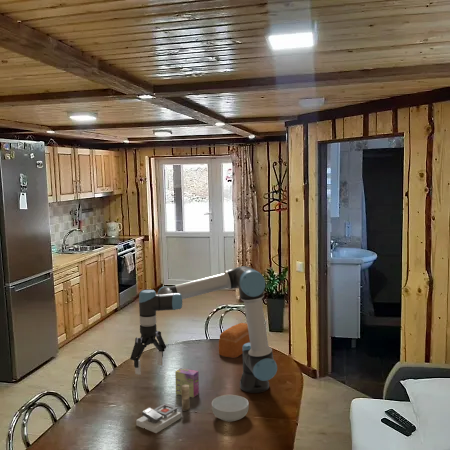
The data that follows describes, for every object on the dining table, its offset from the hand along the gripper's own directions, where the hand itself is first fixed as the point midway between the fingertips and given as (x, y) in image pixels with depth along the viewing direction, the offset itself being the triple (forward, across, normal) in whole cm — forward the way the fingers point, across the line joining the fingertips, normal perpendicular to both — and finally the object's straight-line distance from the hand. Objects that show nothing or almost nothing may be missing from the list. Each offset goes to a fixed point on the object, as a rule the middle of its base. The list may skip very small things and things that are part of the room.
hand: (149, 369), depth 222 cm
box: (+21, -25, 0) cm, 33 cm away
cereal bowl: (+21, -18, +33) cm, 43 cm away
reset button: (+19, -1, +9) cm, 21 cm away
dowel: (+21, -13, +11) cm, 27 cm away
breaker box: (+21, +3, +9) cm, 23 cm away
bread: (+20, -90, -16) cm, 93 cm away
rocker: (+16, +7, +9) cm, 20 cm away
